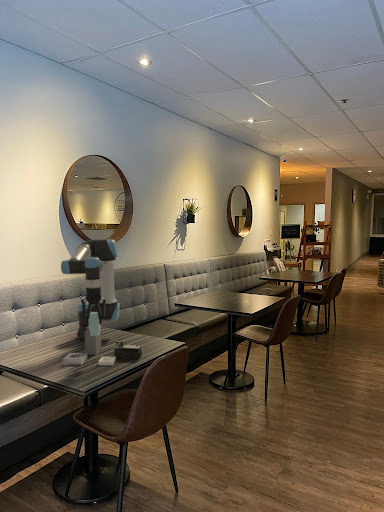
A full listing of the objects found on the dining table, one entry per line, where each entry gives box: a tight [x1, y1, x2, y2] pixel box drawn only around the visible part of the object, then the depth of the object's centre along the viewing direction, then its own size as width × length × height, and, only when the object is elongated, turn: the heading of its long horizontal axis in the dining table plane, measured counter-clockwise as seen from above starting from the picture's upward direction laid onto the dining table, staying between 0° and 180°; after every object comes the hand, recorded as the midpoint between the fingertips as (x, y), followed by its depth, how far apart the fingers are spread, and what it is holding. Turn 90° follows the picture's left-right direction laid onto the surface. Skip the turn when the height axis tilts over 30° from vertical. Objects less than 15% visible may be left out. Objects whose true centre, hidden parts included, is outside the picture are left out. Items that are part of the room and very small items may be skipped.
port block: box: [62, 352, 88, 366], centre depth 216 cm, size 10×10×4 cm
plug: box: [90, 312, 100, 336], centre depth 213 cm, size 4×4×12 cm
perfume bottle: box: [84, 326, 102, 355], centre depth 230 cm, size 7×7×18 cm
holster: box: [97, 356, 117, 366], centre depth 213 cm, size 8×8×3 cm
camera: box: [113, 340, 143, 360], centre depth 222 cm, size 15×8×10 cm, turn 79°
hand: (94, 330), depth 213 cm, fingers closed on plug, 4 cm apart
